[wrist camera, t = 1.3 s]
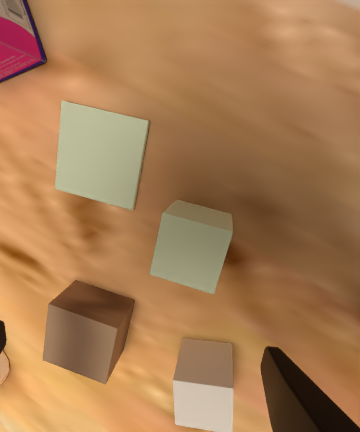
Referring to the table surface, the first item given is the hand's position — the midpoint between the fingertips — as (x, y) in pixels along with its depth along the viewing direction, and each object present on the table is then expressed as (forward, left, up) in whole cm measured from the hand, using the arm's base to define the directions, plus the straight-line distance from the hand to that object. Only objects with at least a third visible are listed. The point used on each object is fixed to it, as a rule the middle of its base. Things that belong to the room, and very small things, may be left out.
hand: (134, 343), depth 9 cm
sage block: (-1, 0, -12) cm, 12 cm away
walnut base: (+6, +11, -13) cm, 18 cm away
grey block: (-5, +12, -12) cm, 18 cm away
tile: (+8, -4, -12) cm, 15 cm away
